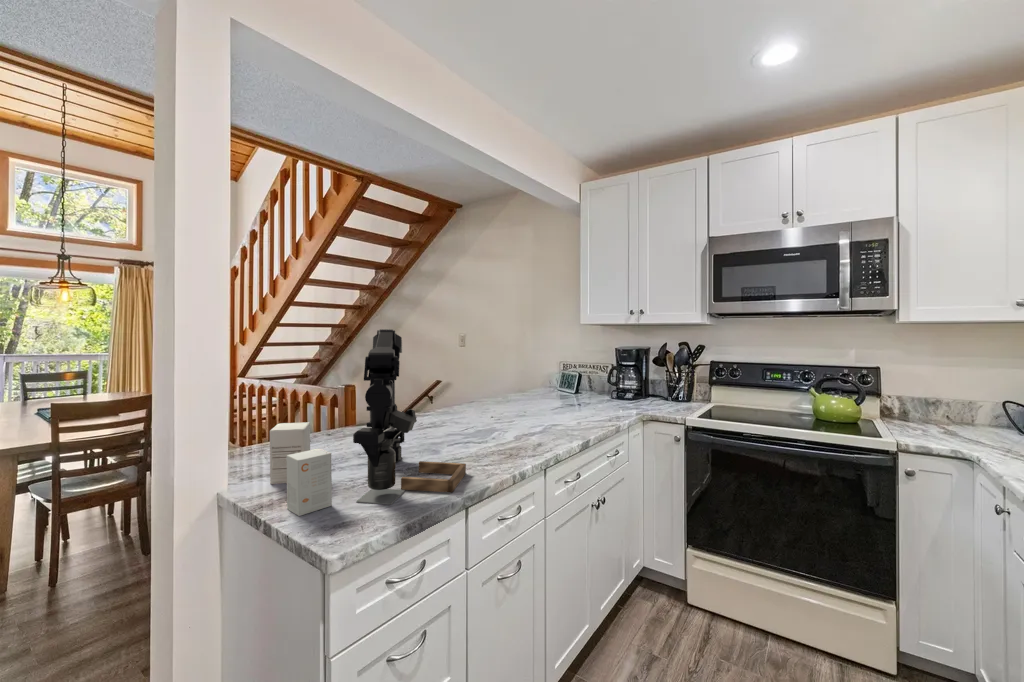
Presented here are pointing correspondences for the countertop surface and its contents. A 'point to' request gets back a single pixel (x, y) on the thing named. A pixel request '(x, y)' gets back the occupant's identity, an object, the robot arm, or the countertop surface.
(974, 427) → the countertop surface
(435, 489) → the frame
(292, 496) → the small box
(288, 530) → the countertop surface
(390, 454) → the supplement bottle
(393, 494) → the slate mat
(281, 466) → the supplement box
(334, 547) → the countertop surface
